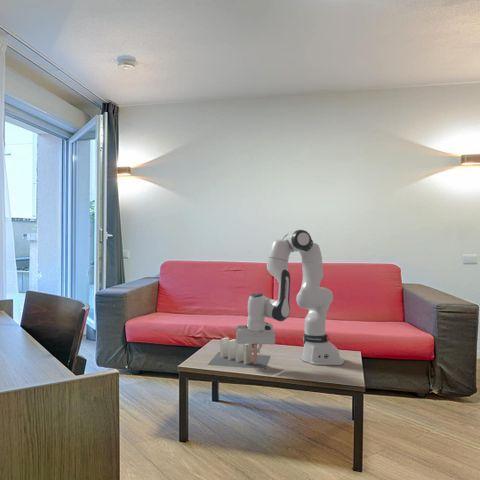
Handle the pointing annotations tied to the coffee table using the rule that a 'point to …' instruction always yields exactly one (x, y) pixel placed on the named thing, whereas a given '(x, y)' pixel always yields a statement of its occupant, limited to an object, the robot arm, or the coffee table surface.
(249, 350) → the domino
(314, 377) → the coffee table surface
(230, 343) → the domino
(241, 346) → the domino
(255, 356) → the domino
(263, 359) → the domino mat
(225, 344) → the domino
